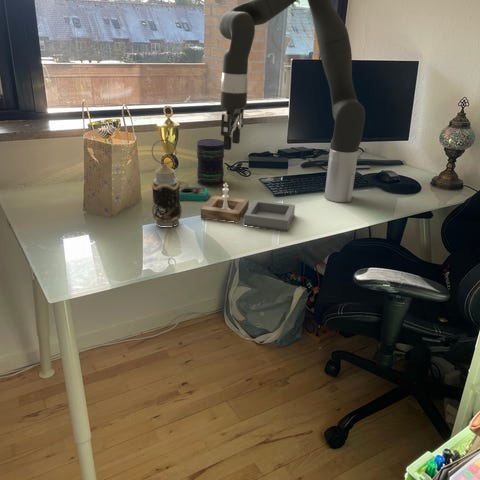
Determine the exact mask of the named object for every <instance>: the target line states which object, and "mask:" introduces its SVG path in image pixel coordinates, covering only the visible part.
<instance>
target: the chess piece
mask: <svg viewBox="0 0 480 480" xmlns="http://www.w3.org/2000/svg"><path fill="white" fill-rule="evenodd" d="M222 187H223V188H222V190H221V191H222V192H223V195H222V196H221V197H223V198H224V202H223V209H229V208H228V203H227V198H230V196H229V194H228V193H229V190H230V189H229V188H228V187H229V185H228V183H227V182H224V183H223V184H222Z"/></svg>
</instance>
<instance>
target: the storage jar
mask: <svg viewBox="0 0 480 480" xmlns="http://www.w3.org/2000/svg"><path fill="white" fill-rule="evenodd" d="M223 146H224V140H220V139H217V138H216V139H215V138H214V139H213V138H207V139H206V138H205V139H199V140H197V141H196V157H197V172H196V176H197V183H198V184H199V185H201V186H204V187H218V186H221V185H223V184H224V176H225V173H224V171H225V170H224V169H225V168H224V158H225V157H224V156H225V154H224V153H225V149H224V148H223Z"/></svg>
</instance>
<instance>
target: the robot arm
mask: <svg viewBox="0 0 480 480" xmlns="http://www.w3.org/2000/svg"><path fill="white" fill-rule="evenodd" d="M297 1H298V0H248V1H247V2H243V3H241V4H240V5H237V6H235V7H233V8H231V9H230V10H228V11H227V12H225V13H224V14H223V15H222V17H221V18H220V20H219V24H218V27H219V28H218V30H219V33H220V34H221V35H222V37H224V38H225V39H227V40H230V45H229V49H227V50H225V51H224V53H223V55H222V69H221V70H222V73H221V81H220V106H221V107H222V108H225V110H226V111H225V113H222V114H221V123H220V124H221V125H220V136H222V137H223V142H224V145H223V148H224V151H231V150H232V145H233V144H237V145H238V144H240V142H241V131H242V128H244V113H245V112H244V111H245V108H247V104H248V102H247V101H248V88H249V87H248V86H249V85H248V84H249V81H248V79H249V78H248V69H249V57H250V54H251V53H250V52H251V49H252V47H253V41H254V39H255V38H254V37H255V34H256V33H255V32H256V29H255V28H256V27H257V26H260V25H264V24H266V23H268V22H269V21H270V20H272V19H273V18H275V17H277V16H278V15H279V14H280V13H282V12H283V11H285V10H286V9H287V8H289V7H291V5H293V4H294V3H295V2H297ZM307 3H308V6H309V9H310V13H311V18H312V23H313V26H314V30H315V34H316V40H317V45H318V50H319V55H320V59H321V62H322V67H323V69H324V70H323V71H324V74H325V77H326V79H327V83H328V87H329V91H330V98H331V110H332V117H333V120H334V126H333V127H334V128H333V135H332V138H331V140H330V146H329V147H330V148H329V155H328V164H327V172H326V181H325V190H324V198H325V199H326V200H327V201H331V202H336V203H346V202H347V203H348V202H349V203H351V202H352V197H353V190H354V183H355V177H356V169H357V161H358V155H359V149H360V146H361V142H362V140H363V134H364V128H365V121H366V110H365V107H364V106H363V105H362V103H360V102H359V101H358V97H357V94H356V91H355V87H354V83H353V76H352V75H353V73H352V71H353V65H352V64H353V58H352V57H353V55H352V47H351V42H350V35H349V31H348V29H347V27H346V25H345V22H343V19H342V17H340V15H339V13H338V12H337V11H336V9H335V7H334V6H333V4H332V1H331V0H307ZM232 143H233V144H232Z"/></svg>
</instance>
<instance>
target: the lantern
mask: <svg viewBox="0 0 480 480" xmlns="http://www.w3.org/2000/svg"><path fill="white" fill-rule="evenodd" d="M164 141H165V142H169V144H171V145H172V146H173V148H174V151H175V155H174V157H173V158H172V160H171V161H169V162H161V161H158V160H157V158H155V155H154V154H153V153H154V151H153V150H154V146H155V145H156V144H157V143H159V142H164ZM151 155H152V158H153V159H154V160H155V161H156V162H157V163H159V164H162V166H160V167H159V168H158V169H157V168H156V170H155V171H154V172H155V174H156V178H154V179H153V180H151V188H152V208H151V213H152V217H153V219H154V220H155V223H156V224H158V225H160V226H174V225H176V224H179V220H180V219H181V216H182V214H183V213H182V212H183V210H182V204H181V200H180V198H179V189H180V187H181V184H180V182H179V180H178V178H176V177H175V174H174V173H175V172H176V171H175V169H173V168H171V167H170V166H169V165H168V164H170V163H172V162H174V161H175V159H176V156H177V149H176V146H175V145H174V144H173V143H172V141H170V140H167V139H160V140H158V141H156V142H154V144H153V145H152V148H151Z"/></svg>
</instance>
